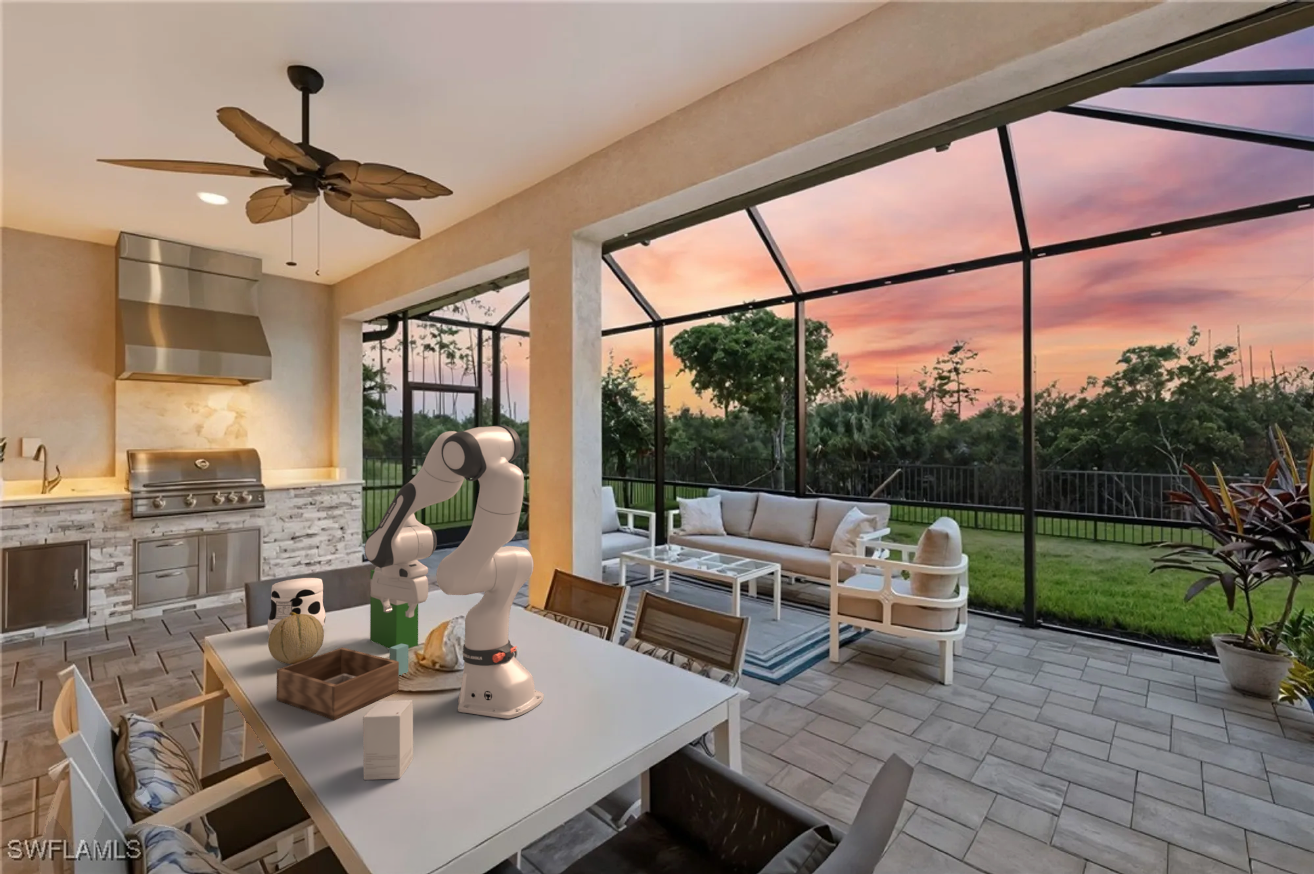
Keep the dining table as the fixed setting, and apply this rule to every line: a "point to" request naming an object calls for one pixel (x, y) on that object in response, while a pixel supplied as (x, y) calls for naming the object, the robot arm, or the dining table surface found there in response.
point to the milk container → (296, 600)
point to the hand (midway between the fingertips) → (398, 614)
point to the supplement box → (388, 739)
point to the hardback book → (392, 623)
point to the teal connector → (400, 657)
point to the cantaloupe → (295, 638)
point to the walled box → (337, 682)
